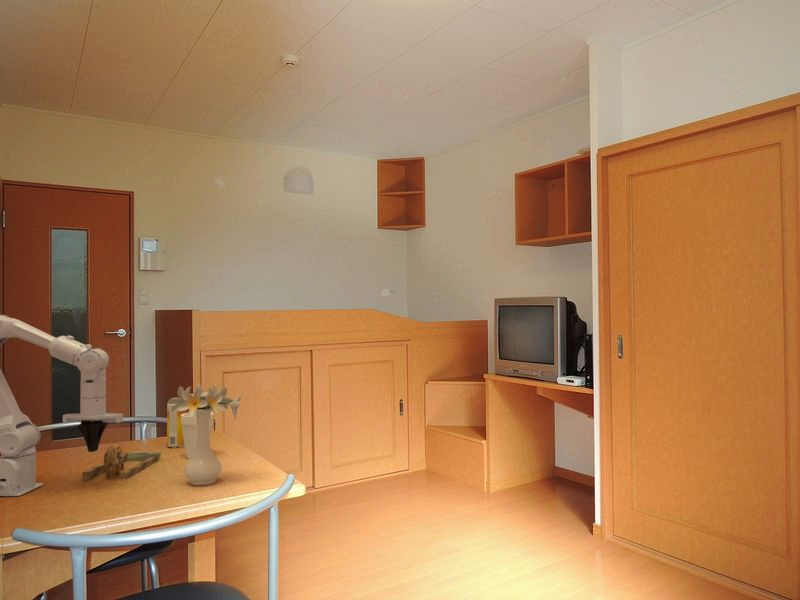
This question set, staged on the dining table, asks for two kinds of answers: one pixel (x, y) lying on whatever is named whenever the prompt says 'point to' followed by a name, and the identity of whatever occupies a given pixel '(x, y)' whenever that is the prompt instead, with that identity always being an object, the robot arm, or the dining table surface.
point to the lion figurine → (114, 460)
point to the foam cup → (192, 432)
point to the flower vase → (203, 429)
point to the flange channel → (143, 456)
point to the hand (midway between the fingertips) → (92, 450)
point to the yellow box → (174, 427)
